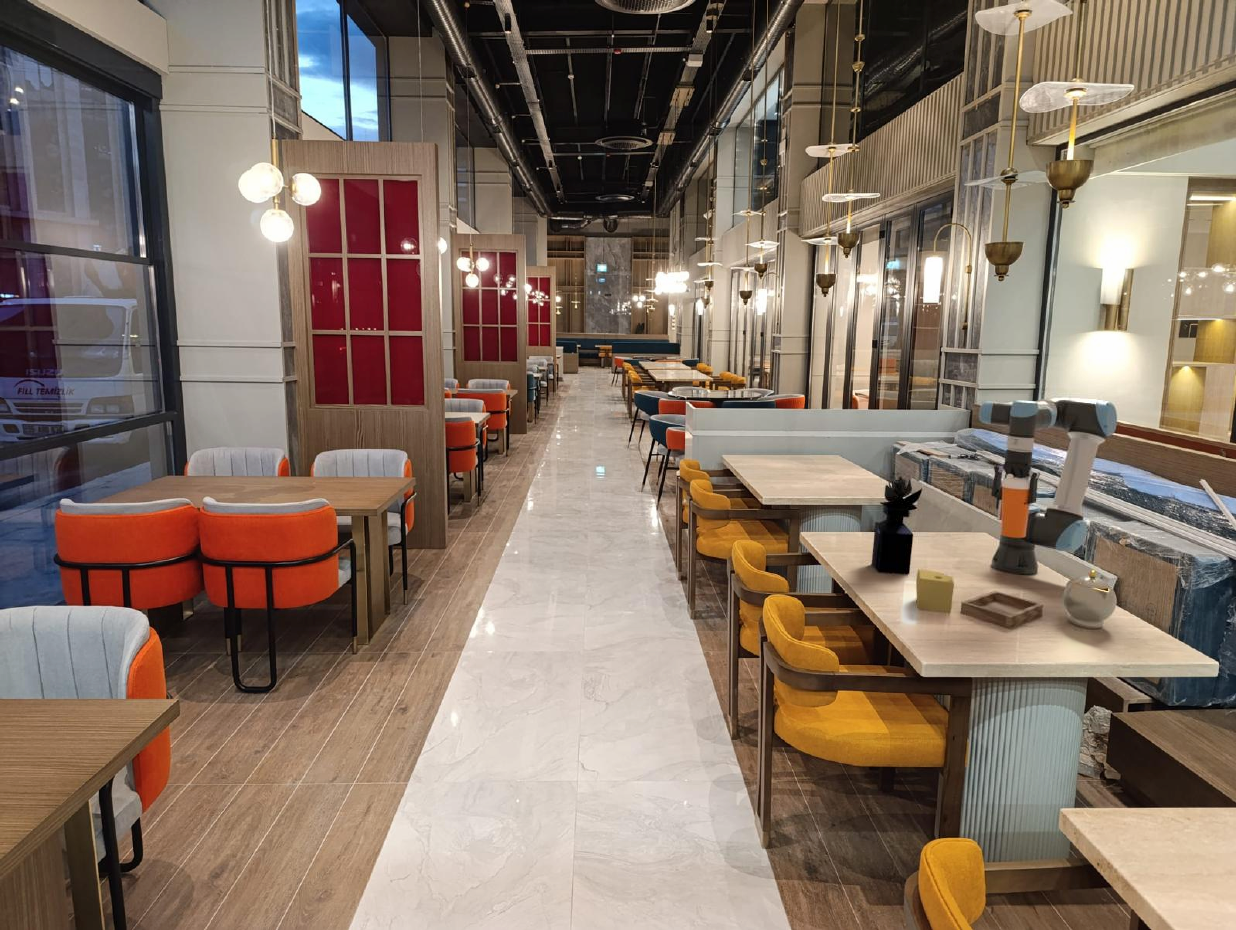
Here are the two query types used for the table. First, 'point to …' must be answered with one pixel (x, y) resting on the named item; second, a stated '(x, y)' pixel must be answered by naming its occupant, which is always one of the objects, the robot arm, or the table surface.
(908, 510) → the vase
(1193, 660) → the table surface
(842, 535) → the table surface
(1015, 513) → the shaker bottle
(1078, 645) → the table surface
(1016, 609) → the tray
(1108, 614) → the teapot
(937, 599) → the cheese
